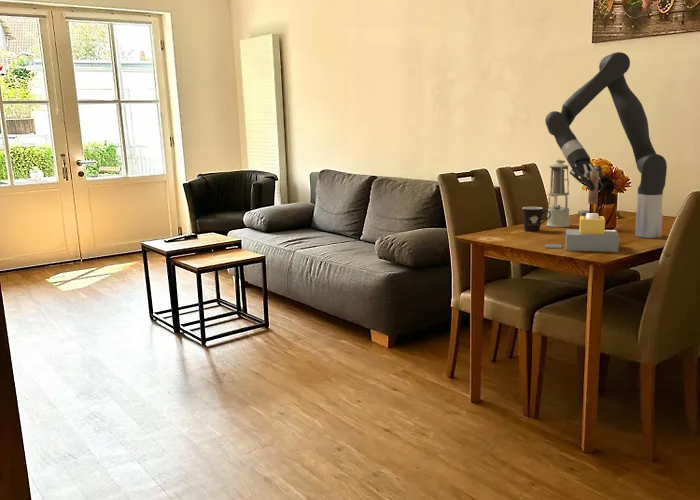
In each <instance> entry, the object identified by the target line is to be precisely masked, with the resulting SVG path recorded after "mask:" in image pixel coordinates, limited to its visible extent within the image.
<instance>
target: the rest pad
mask: <svg viewBox="0 0 700 500" xmlns="http://www.w3.org/2000/svg"><path fill="white" fill-rule="evenodd" d="M544 248H545V249H559V250H560V249H562V244H554V243H551V244H549V243H545V244H544Z"/></svg>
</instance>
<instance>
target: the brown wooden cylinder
mask: <svg viewBox="0 0 700 500" xmlns="http://www.w3.org/2000/svg"><path fill="white" fill-rule="evenodd" d="M589 177H590V180H591V181H592V182H593V184H594V185H595V187H596V188H595V189H594V191H590V189H589V188H588V199H587V203H588V205H589V204H591V205H597V204H598V199H599V197H598V196H599V190H598V180H599V171H590V174H589Z"/></svg>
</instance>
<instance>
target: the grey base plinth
mask: <svg viewBox="0 0 700 500" xmlns="http://www.w3.org/2000/svg"><path fill="white" fill-rule="evenodd" d="M605 218H606V217H604V216H599V219H586V216H579V227H578V228H579V229H578V228H577V229H576V228H575V229H573V228H571V229H569V228H566V229H565V244H564V245H565V251H569V252H570V251H571V252H572V251H573V252H574V251H576V252H602V253H603V252H604V253H605V252H606V253H608V252H609V253H618V252H619V246H620V245H619V244H620V234H619V232H618V230H617V229H605V228H606V219H605Z"/></svg>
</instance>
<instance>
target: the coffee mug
mask: <svg viewBox="0 0 700 500" xmlns="http://www.w3.org/2000/svg"><path fill="white" fill-rule="evenodd" d="M521 210H522V219H523V230H524V232H531V233H534V232H535V233H536V232H537V233H538V232H540V230H541V229H540V228H541V225H542V224H544V223H545V222H547V220H548V219H549V218H550V217H551V212H550V211H548V209H547V210H546V209H544V210H543V207H541V206H524V207H522V209H521ZM545 212H547V213H548V212H549V214H550V216H549V217H548V216H547V217H548V218H546V219H544V220H543V221H542V216H543V214H545Z"/></svg>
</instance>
